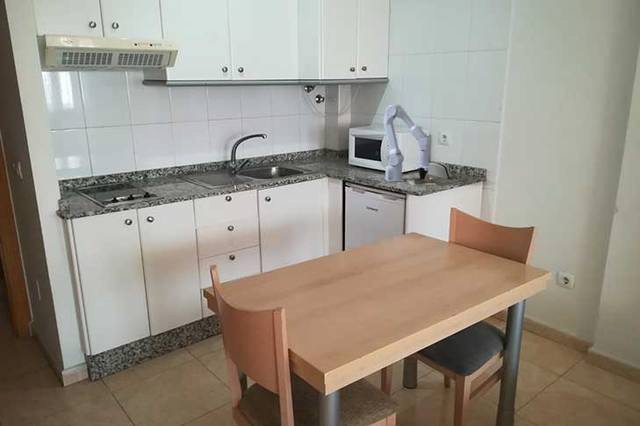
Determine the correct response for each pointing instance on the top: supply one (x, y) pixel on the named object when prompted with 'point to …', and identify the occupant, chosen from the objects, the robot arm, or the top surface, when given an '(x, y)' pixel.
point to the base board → (420, 184)
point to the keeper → (417, 180)
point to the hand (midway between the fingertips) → (422, 180)
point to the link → (426, 181)
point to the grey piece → (439, 170)
